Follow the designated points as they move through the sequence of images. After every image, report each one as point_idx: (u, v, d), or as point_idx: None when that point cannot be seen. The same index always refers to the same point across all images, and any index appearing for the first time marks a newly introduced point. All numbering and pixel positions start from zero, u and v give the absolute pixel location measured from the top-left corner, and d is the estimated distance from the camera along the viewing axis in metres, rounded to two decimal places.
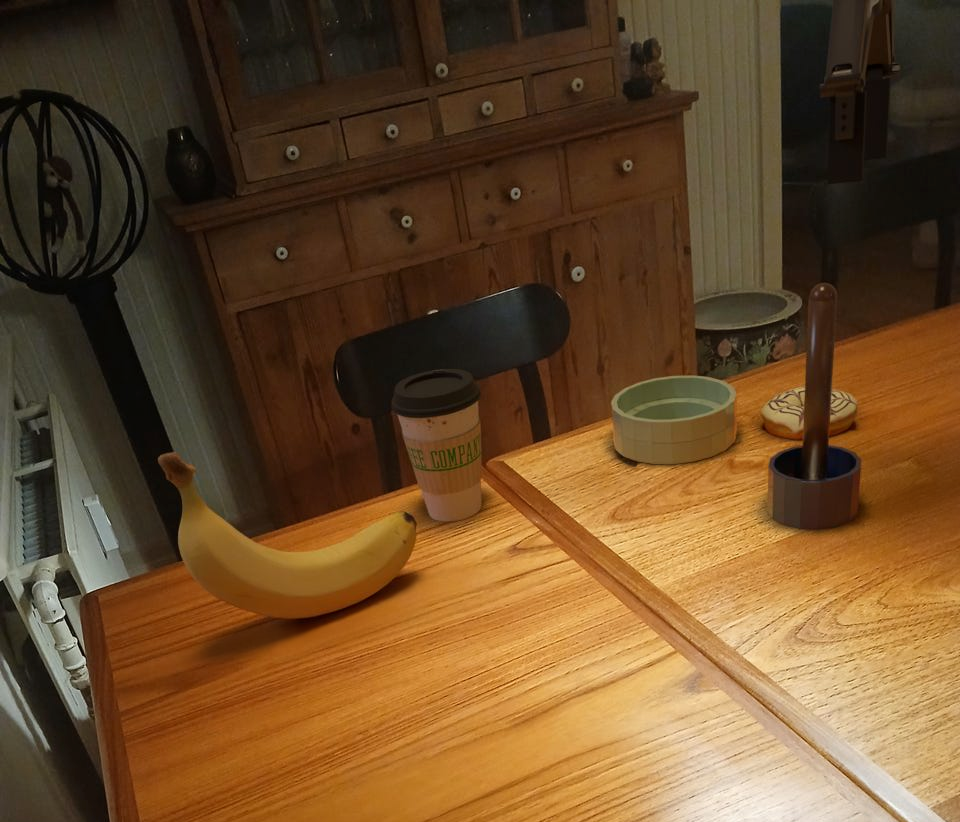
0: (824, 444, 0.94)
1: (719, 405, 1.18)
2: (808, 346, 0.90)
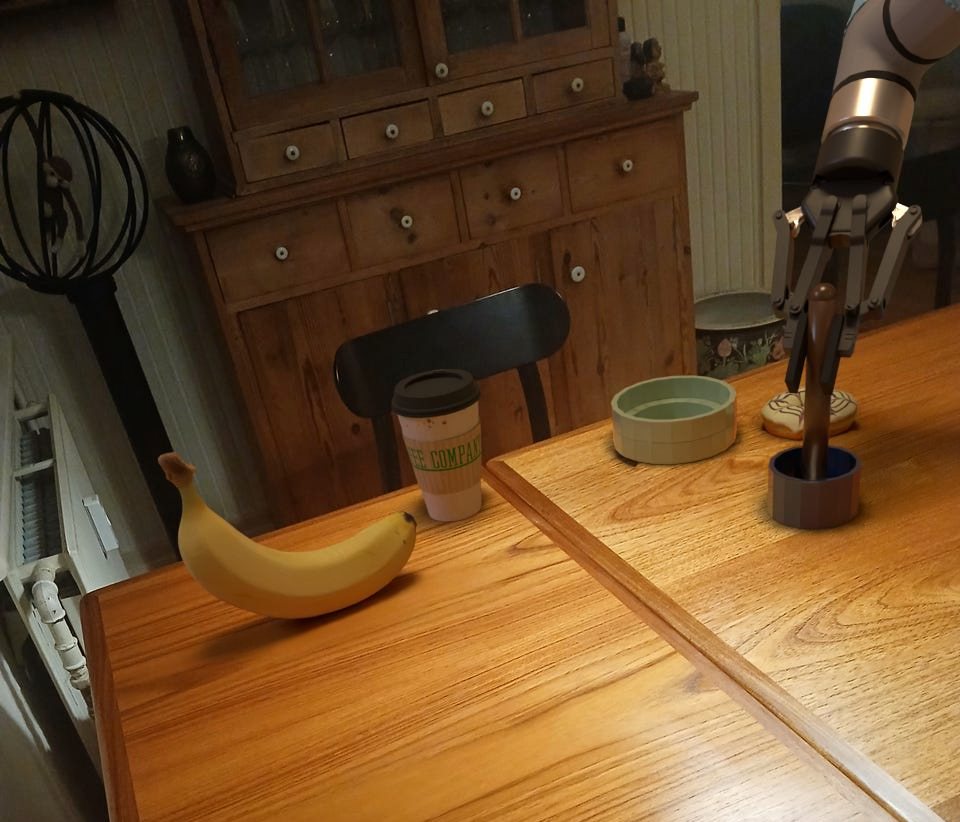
0: (824, 444, 0.94)
1: (719, 405, 1.18)
2: (808, 346, 0.90)
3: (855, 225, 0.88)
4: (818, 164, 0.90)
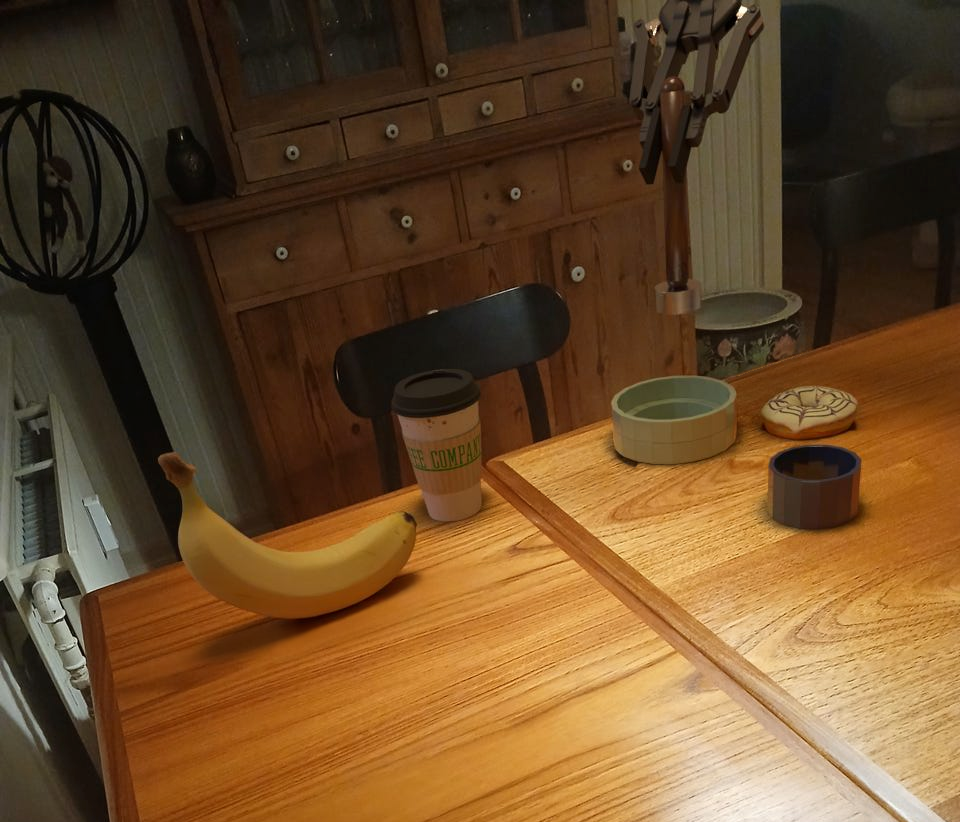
0: (683, 237, 1.03)
1: (719, 405, 1.18)
2: (662, 139, 0.99)
3: (702, 26, 0.97)
4: None
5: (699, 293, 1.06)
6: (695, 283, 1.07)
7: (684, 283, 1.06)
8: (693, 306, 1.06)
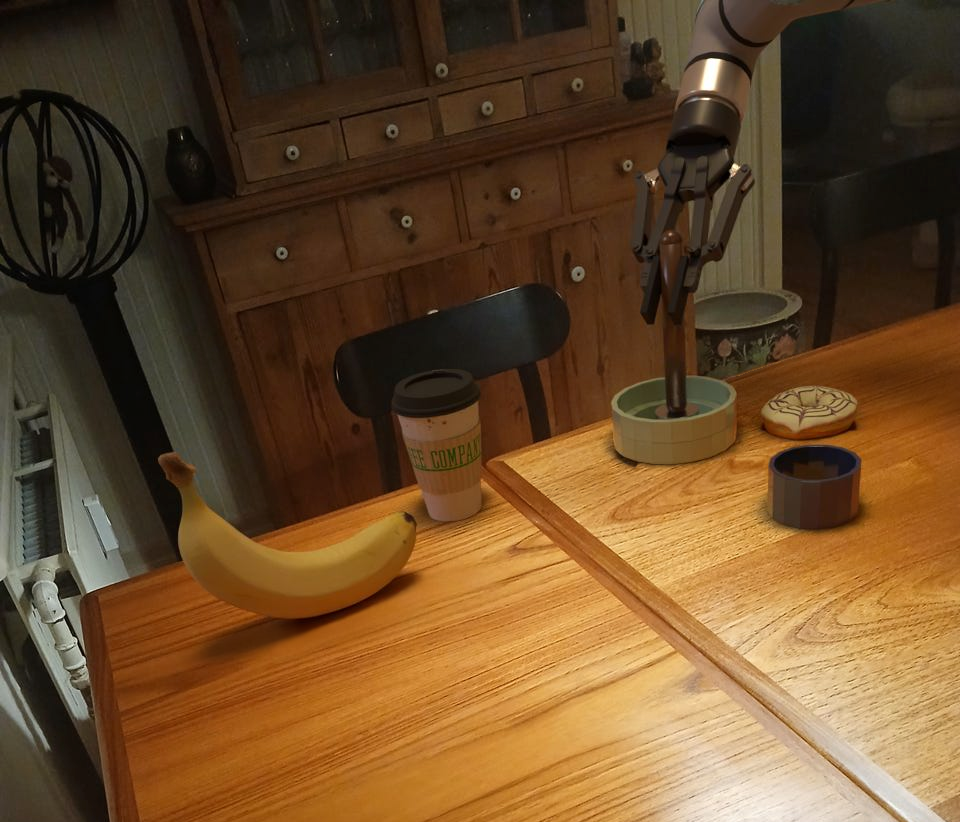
0: (681, 369, 1.11)
1: (719, 405, 1.18)
2: (661, 284, 1.07)
3: (698, 182, 1.05)
4: (670, 131, 1.07)
5: None
6: (693, 407, 1.15)
7: (682, 409, 1.14)
8: None
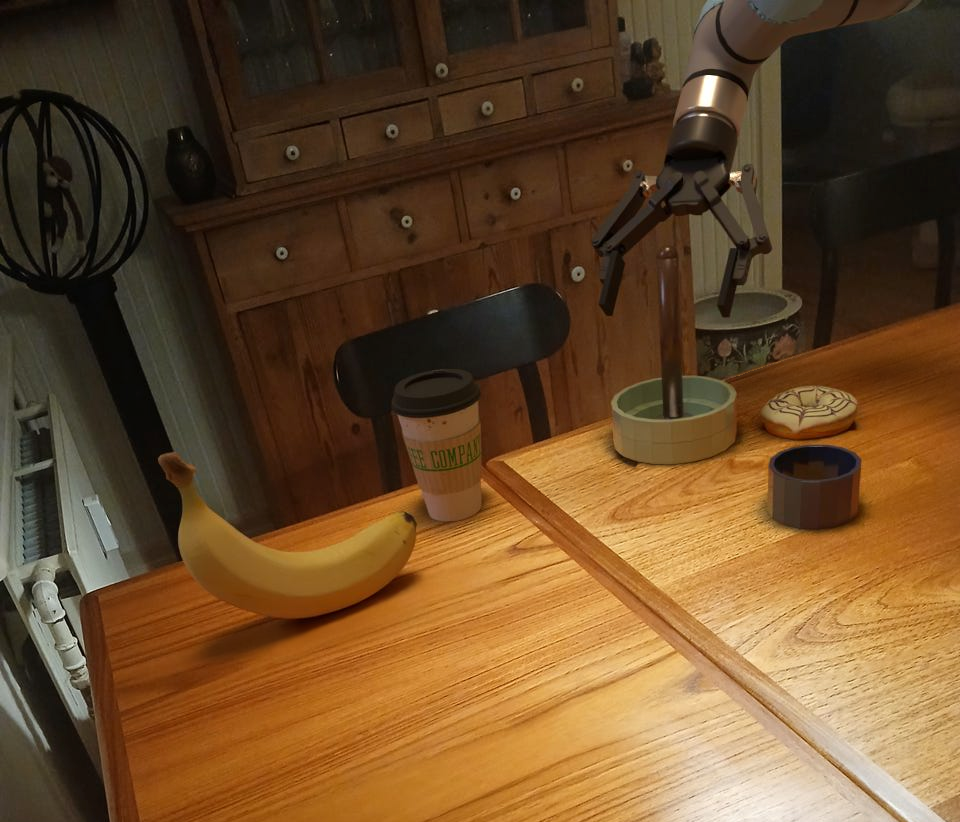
0: (678, 380, 1.14)
1: (719, 405, 1.18)
2: (659, 297, 1.09)
3: (707, 192, 1.07)
4: (668, 146, 1.09)
5: None
6: None
7: None
8: None
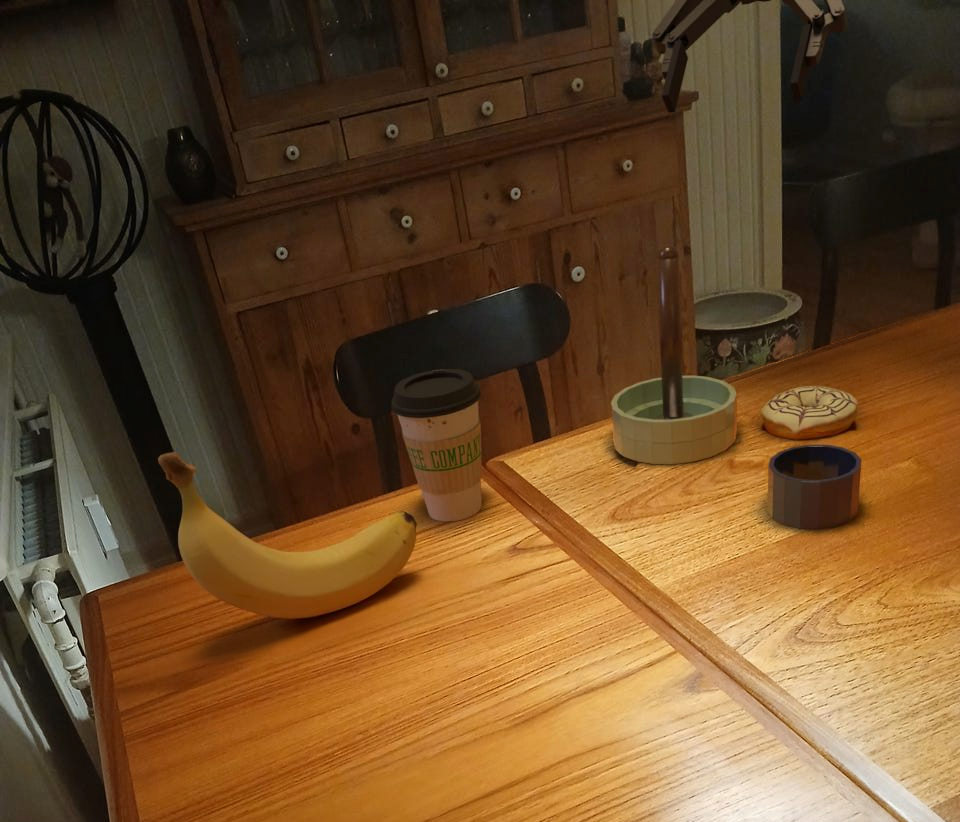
0: (678, 380, 1.14)
1: (719, 405, 1.18)
2: (659, 297, 1.09)
3: None
4: None
5: None
6: None
7: None
8: None
